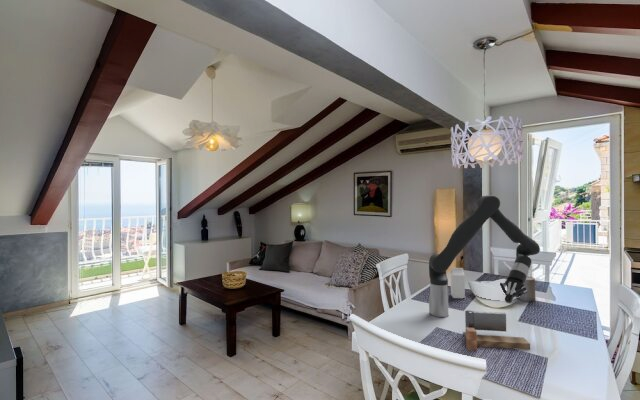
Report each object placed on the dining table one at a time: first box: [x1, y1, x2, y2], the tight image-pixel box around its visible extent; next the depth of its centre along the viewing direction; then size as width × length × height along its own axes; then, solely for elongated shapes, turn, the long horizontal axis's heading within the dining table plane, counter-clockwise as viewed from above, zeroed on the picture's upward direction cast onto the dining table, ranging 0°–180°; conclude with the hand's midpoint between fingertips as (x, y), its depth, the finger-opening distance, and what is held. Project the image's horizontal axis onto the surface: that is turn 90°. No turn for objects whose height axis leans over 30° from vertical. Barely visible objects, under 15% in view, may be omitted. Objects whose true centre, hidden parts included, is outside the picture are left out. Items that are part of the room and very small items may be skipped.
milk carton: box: [450, 267, 466, 299], centre depth 205 cm, size 7×7×19 cm
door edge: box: [462, 326, 531, 351], centre depth 140 cm, size 26×18×8 cm
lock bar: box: [464, 310, 507, 332], centre depth 146 cm, size 17×4×10 cm, turn 80°
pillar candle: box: [518, 275, 536, 302], centre depth 198 cm, size 10×10×15 cm
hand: (507, 302), depth 154 cm, fingers closed
